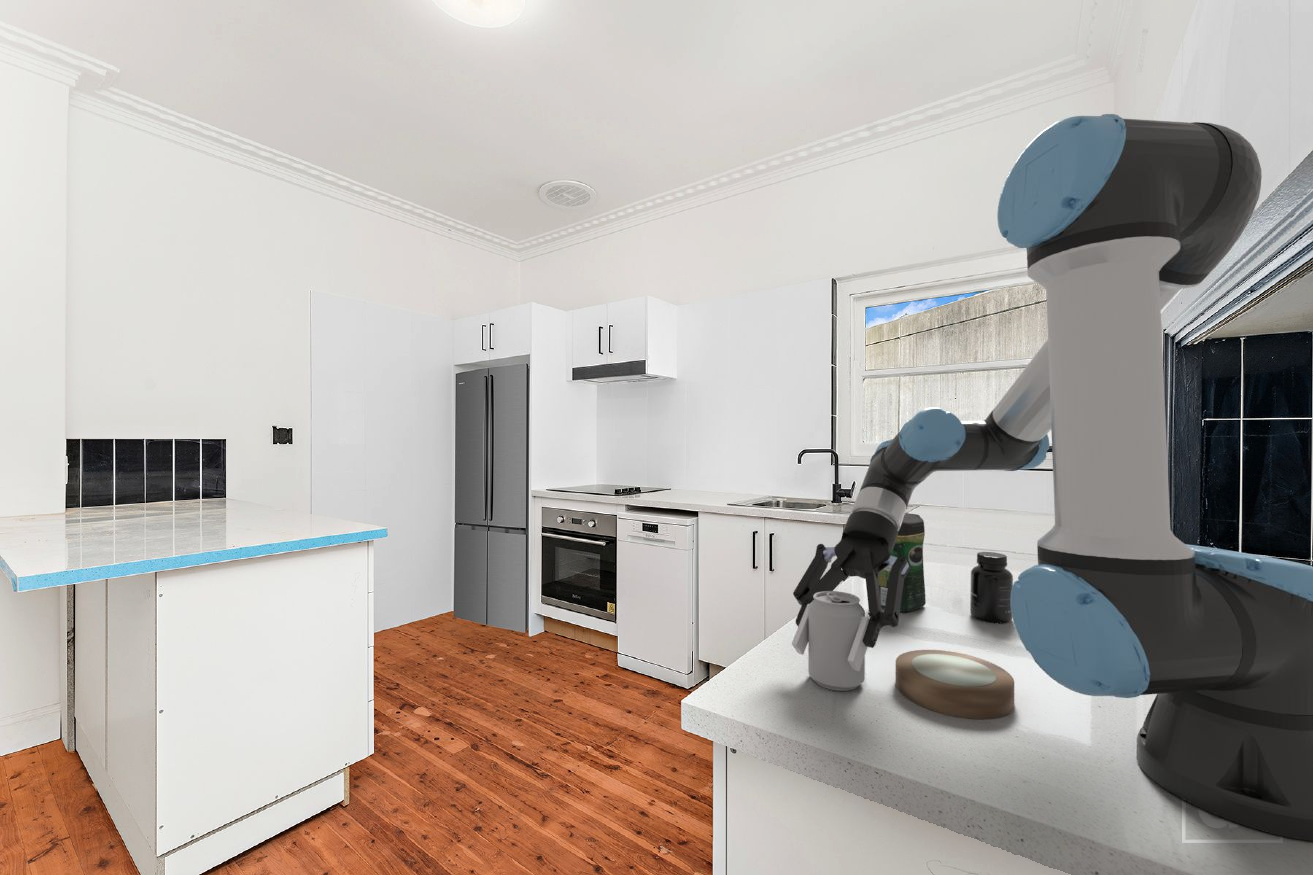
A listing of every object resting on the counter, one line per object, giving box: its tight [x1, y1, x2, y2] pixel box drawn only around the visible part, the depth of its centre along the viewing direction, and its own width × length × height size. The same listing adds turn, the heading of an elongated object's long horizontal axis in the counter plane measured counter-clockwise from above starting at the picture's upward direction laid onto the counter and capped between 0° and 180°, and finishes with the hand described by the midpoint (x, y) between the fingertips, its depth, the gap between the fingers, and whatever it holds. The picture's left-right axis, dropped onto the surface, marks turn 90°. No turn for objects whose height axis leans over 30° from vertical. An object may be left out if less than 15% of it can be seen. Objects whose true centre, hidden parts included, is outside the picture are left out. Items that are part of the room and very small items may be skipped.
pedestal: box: [894, 649, 1015, 720], centre depth 75 cm, size 14×14×3 cm
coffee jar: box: [878, 512, 926, 613], centre depth 112 cm, size 10×8×19 cm
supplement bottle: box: [969, 551, 1014, 625], centre depth 105 cm, size 7×7×12 cm
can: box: [807, 590, 866, 692], centre depth 79 cm, size 8×8×12 cm
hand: (824, 657), depth 76 cm, fingers closed on can, 7 cm apart
